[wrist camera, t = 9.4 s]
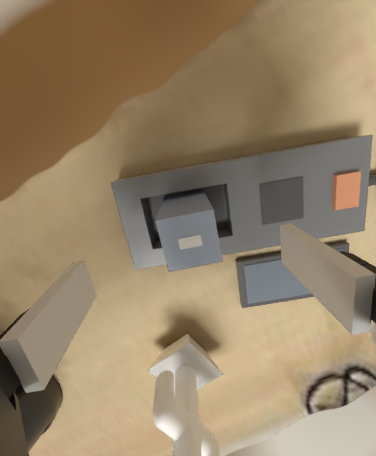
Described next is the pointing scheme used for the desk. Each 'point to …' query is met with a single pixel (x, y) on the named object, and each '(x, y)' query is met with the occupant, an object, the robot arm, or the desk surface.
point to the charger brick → (188, 231)
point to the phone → (271, 279)
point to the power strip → (256, 196)
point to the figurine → (183, 397)
